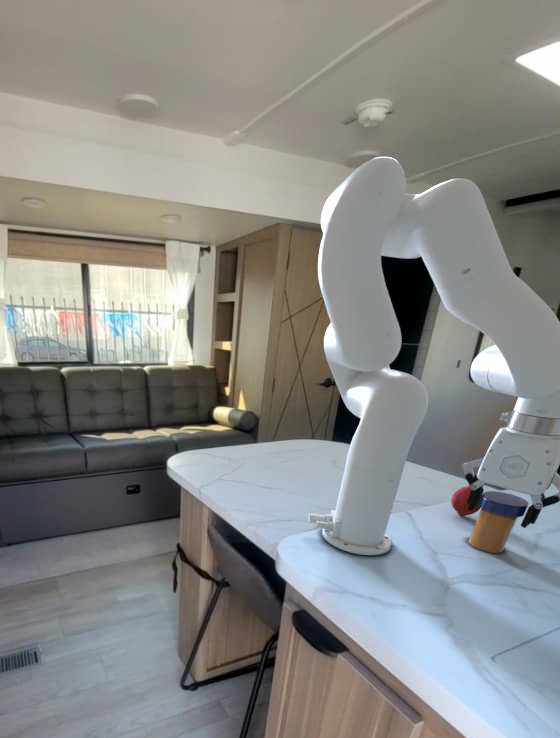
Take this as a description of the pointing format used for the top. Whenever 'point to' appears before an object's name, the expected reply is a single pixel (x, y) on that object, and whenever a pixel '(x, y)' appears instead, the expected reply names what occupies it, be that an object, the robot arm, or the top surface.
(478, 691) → the top surface
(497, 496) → the honey lid
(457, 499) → the red pomegranate
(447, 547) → the top surface
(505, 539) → the honey jar
